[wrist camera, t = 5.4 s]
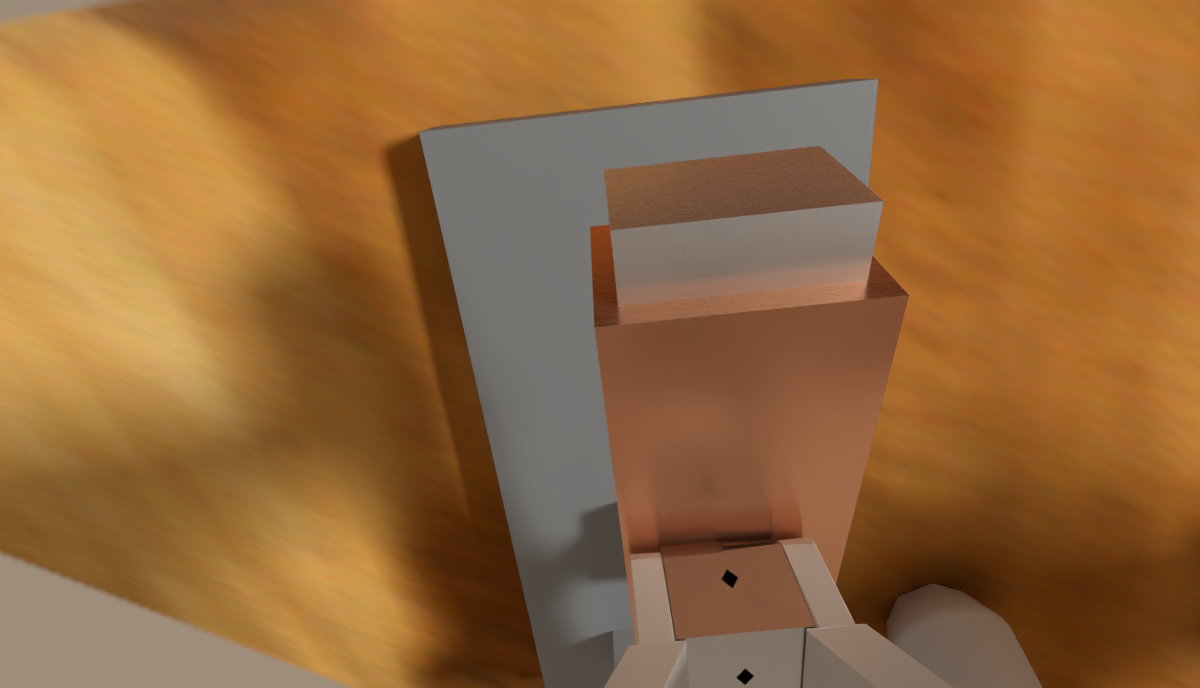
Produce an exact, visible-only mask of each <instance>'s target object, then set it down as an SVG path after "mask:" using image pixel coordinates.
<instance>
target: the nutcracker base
mask: <svg viewBox="0 0 1200 688" xmlns="http://www.w3.org/2000/svg"><path fill="white" fill-rule="evenodd" d="M877 88H878V79H845V80H837V81H828V82H819V83H811V84H802V85H793V86H785V87H776V88H767V89H759V90H750V91H741V92H733V93H724V94H715V95H707V96H698V97H690V98H681V99H672V100H664V101H655V102H646V103H638V104H629V105H620V106H612V107H603V108H594V109H586V110H577V111H568V112H560V113H551V114H542V115H534V116H525V117H516V118H508V119H499V120H490V121H482V122H473V123H464V124H456V125H447V126H439V127H433V128H430V129H427V130H424V131H420V132H419V135H420V139H421V143H422V148H423V152H424V157H425V161H426V165H427V170H428V174H429V179H430V183H431V187H432V192H433V196H434V201H435V205H436V210H437V214H438V218H439V223H440V227H441V232H442V236H443V240H444V245H445V249H446V254H447V258H448V262H449V267H450V271H451V276H452V280H453V284H454V289H455V293H456V298H457V302H458V306H459V311H460V315H461V320H462V324H463V328H464V333H465V337H466V342H467V346H468V350H469V355H470V359H471V364H472V368H473V372H474V377H475V381H476V386H477V390H478V394H479V399H480V403H481V408H482V412H483V417H484V421H485V425H486V430H487V434H488V439H489V443H490V447H491V452H492V456H493V461H494V465H495V469H496V474H497V478H498V483H499V487H500V491H501V496H502V500H503V505H504V509H505V513H506V518H507V522H508V527H509V531H510V535H511V540H512V544H513V549H514V553H515V557H516V562H517V566H518V571H519V575H520V579H521V584H522V588H523V593H524V597H525V602H526V606H527V610H528V615H529V619H530V624H531V628H532V632H533V637H534V641H535V646H536V650H537V654H538V659H539V663H540V668H541V672H542V676H543V681H544V685H545V688H604V686H605V685H606V683H607V681H608V679H609V678H610V676H611V674H612V672H613V671H614V669H615V667H616V665H617V664H618V662H619V660H620V658H621V656H622V655H623V653H624V651H625V649H626V648H627V646H629V645H636V643H635V636H634V628H633V620H632V613H631V605H630V597H629V590H628V582H627V574H626V567H625V559H624V551H623V544H622V536H621V528H620V520H619V513H618V505H617V497H616V490H615V482H614V474H613V467H612V459H611V451H610V444H609V436H608V428H607V421H606V413H605V405H604V398H603V390H602V382H601V375H600V367H599V359H598V352H597V344H596V336H595V329H594V308H593V285H592V262H591V239H590V227H591V226H601V225H609V217H608V207H607V197H606V187H605V177H604V170H608V169H617V168H626V167H635V166H644V165H653V164H662V163H671V162H679V161H688V160H697V159H706V158H715V157H724V156H733V155H742V154H751V153H760V152H769V151H778V150H787V149H796V148H805V147H814V146H821V147H822V148H823V149H825V150H826V151H827V152H828V153H829V154H830V155H831V156H833V157H834V158H835V159H836V160H837V161H838V162H839V163H841V164H842V165H843V166H844V167H845V168H846V169H847V170H849V171H850V172H851V173H852V174H853V175H854V176H856V177H857V178H858V179H859V180H860V181H861V182H862V183H864V184H865V185H866V186H867V187H868V185H869V174H870V164H871V153H872V142H873V131H874V120H875V109H876V98H877Z"/></svg>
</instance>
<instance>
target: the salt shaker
mask: <svg viewBox="0 0 1200 688" xmlns="http://www.w3.org/2000/svg"><path fill="white" fill-rule="evenodd" d="M886 626H887V640H889V641H890V642H891V643H893V644H894V645H896V646H897V647H898V648H900V649H901V650H902V651H904V652H905V653H906V654H908V655H909V656H911V657H912V658H913V659H915V660H916V661H917V662H919V663H920V664H921V665H923V666H924V667H926V668H927V669H928V670H930V671H931V672H932V673H934V674H935V675H936V676H938V677H939V678H941V679H942V680H943V681H945V682H946V683H947V684H949V685H950V686H952V687H953V688H1043V687H1042V685H1041V684H1040V682H1039V680H1038V678H1037V676H1036V674H1035V672H1034V670H1033V669H1032V667H1031V665H1030V663H1029V661H1028V659H1027V657H1026V655H1025V654H1024V652H1023V650H1022V648H1021V646H1020V644H1019V642H1018V640H1017V639H1016V637H1015V635H1014V633H1013V631H1012V629H1011V627H1010V625H1009V624H1008V623H1007V622H1006V621H1005V620H1004V619H1003V618H1002V617H1001V616H999V615H998V614H996V613H995V612H993V611H992V610H990V609H989V608H987V607H986V606H984V605H982V604H981V603H979V602H978V601H976V600H975V599H973V598H972V597H970V596H969V595H967V594H966V593H964V592H963V591H959V590H956V589H952V588H948V587H945V586H941V585H937V584H933V583H931V584H929V585H926V586H924V587H921V588H919V589H916V590H914V591H912V592H909V593H907V594H904V595H902V596H899V597H897V600H896V602H895V604H894V606H893V608H892V610H891V613H890V615H889V617H888V619H887V621H886Z"/></svg>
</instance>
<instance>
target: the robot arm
mask: <svg viewBox="0 0 1200 688" xmlns="http://www.w3.org/2000/svg"><path fill="white" fill-rule="evenodd" d="M630 573H631V584H632V594H633V605H634V616H635V627H636V638H637V645H629V646H627V648H626V649H625V651H624V653H623V655H622V656H621V658H620V660H619V662H618V664H617V665H616V667H615V669H614V671H613V672H612V674H611V676H610V678H609V679H608V681H607V683H606V685H605V686H604V688H953V687H952V686H950V685H949V684H947V683H946V682H945V681H943V680H942V679H941V678H939V677H938V676H936V675H935V674H934V673H932V672H931V671H930V670H928V669H927V668H926V667H924V666H923V665H921V664H920V663H919V662H917V661H916V660H915V659H913V658H912V657H911V656H909V655H908V654H906V653H905V652H904V651H902V650H901V649H900V648H898V647H897V646H896V645H894V644H893V643H891V642H890V641H889V640H887V639H886V638H885V637H883V636H882V635H881V634H879V633H878V632H876V631H875V630H874V629H872V628H871V627H870V626H868V625H867V624H855V622H854V620H853V618H852V616H851V614H850V612H849V610H848V608H847V606H846V604H845V602H844V600H843V598H842V596H841V594H840V592H839V590H838V588H837V586H836V584H835V582H834V580H833V578H832V576H831V574H830V572H829V570H828V568H827V566H826V564H825V562H824V560H823V558H822V556H821V554H820V552H819V550H818V548H817V546H816V544H815V542H814V541H813V540H812V539H810V538H809V537H806V538H797V539H787V540H778V541H768V542H758V543H749V544H740V545H731V546H721V547H716V548H703V549H689V550H675V551H661V553H660V552H656V553H641V554H630Z"/></svg>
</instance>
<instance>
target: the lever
mask: <svg viewBox="0 0 1200 688" xmlns="http://www.w3.org/2000/svg"><path fill="white" fill-rule="evenodd" d="M604 177H605V187H606V197H607V207H608V217H609V225H601V226H591V227H590V239H591V262H592V285H593V308H594V329H595V336H596V344H597V352H598V359H599V367H600V375H601V382H602V390H603V398H604V405H605V413H606V421H607V428H608V436H609V444H610V451H611V459H612V467H613V474H614V482H615V490H616V497H617V505H618V513H619V520H620V528H621V536H622V544H623V551H624V559H625V567H626V574H627V582H628V590H629V597H630V605H631V613H632V620H633V628H634V636H635V643H636V645H637V638H636V627H635V616H634V605H633V594H632V584H631V573H630V554H641V553H656V552H660V553H661V551H675V550H689V549H703V548H716V547H721V546H731V545H740V544H749V543H758V542H768V541H778V540H787V539H797V538H806V537H809V538H810V539H812V540H813V541H814V542H815V544H816V546H817V548H818V550H819V552H820V554H821V556H822V558H823V560H824V562H825V564H826V566H827V568H828V570H829V572H830V574H831V576H832V578H833V580H834V582H835V584H836V582H837V578H838V574H839V571H840V567H841V563H842V559H843V555H844V551H845V547H846V543H847V539H848V535H849V531H850V527H851V523H852V519H853V515H854V511H855V507H856V503H857V499H858V495H859V491H860V487H861V483H862V479H863V475H864V471H865V467H866V463H867V459H868V455H869V451H870V447H871V443H872V440H873V436H874V432H875V428H876V424H877V420H878V416H879V412H880V408H881V404H882V400H883V396H884V392H885V388H886V384H887V380H888V376H889V372H890V368H891V364H892V360H893V356H894V352H895V348H896V344H897V340H898V336H899V332H900V328H901V324H902V320H903V316H904V312H905V309H906V305H907V301H908V297H909V295H908V294H907V292H906V291H905V290H904V289H903V288H902V287H901V286H900V285H899V284H898V283H897V282H896V281H895V279H894V278H893V277H892V276H891V275H890V274H889V273H888V272H887V271H886V270H885V269H884V267H883V266H882V265H881V264H880V263H879V262H878V261H877V260H876V259H875V258H874V257H873V251H874V246H875V241H876V236H877V231H878V226H879V221H880V216H881V211H882V206H883V200H882V199H881V198H880V197H878V196H877V195H876V194H875V193H874V192H873V191H872V190H870V189H869V188H868V187H867V186H866V185H865V184H864V183H862V182H861V181H860V180H859V179H858V178H857V177H856V176H854V175H853V174H852V173H851V172H850V171H849V170H847V169H846V168H845V167H844V166H843V165H842V164H841V163H839V162H838V161H837V160H836V159H835V158H834V157H833V156H831V155H830V154H829V153H828V152H827V151H826V150H825V149H823V148H822V147H821V146H814V147H805V148H796V149H787V150H778V151H769V152H760V153H751V154H742V155H733V156H724V157H715V158H706V159H697V160H688V161H679V162H671V163H662V164H653V165H644V166H635V167H626V168H617V169H608V170H604Z"/></svg>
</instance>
